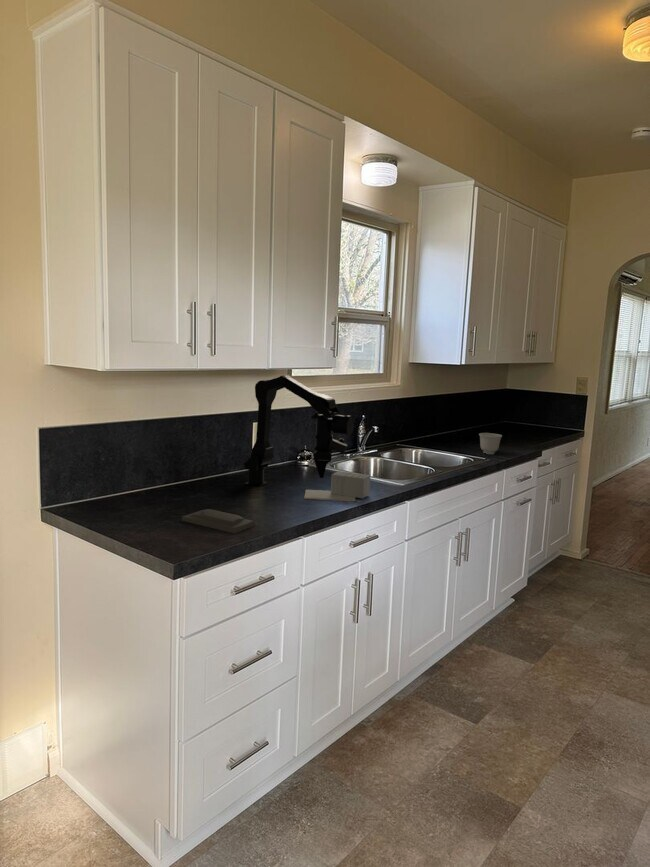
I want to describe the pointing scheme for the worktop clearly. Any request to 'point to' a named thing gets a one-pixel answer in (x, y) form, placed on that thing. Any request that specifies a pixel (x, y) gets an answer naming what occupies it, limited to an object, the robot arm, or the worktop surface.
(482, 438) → the teacup
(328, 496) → the grey mat
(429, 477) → the worktop surface
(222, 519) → the soap mold
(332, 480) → the supplement box
